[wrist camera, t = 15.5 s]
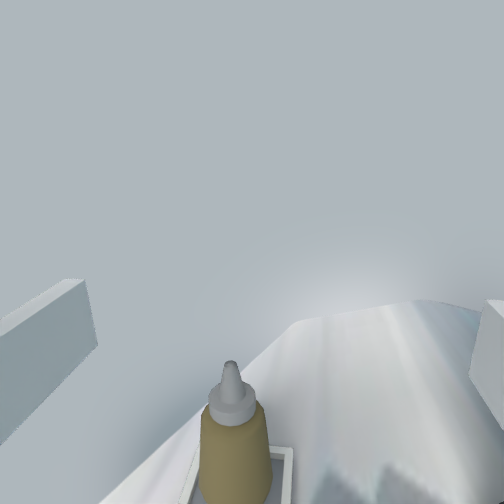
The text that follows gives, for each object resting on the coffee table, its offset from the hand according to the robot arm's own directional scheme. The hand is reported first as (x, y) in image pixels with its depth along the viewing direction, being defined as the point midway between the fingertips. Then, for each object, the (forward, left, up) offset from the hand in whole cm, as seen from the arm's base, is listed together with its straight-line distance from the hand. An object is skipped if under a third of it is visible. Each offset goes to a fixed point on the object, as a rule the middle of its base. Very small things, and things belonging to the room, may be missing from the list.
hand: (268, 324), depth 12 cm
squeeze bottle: (+6, -17, -33) cm, 37 cm away
